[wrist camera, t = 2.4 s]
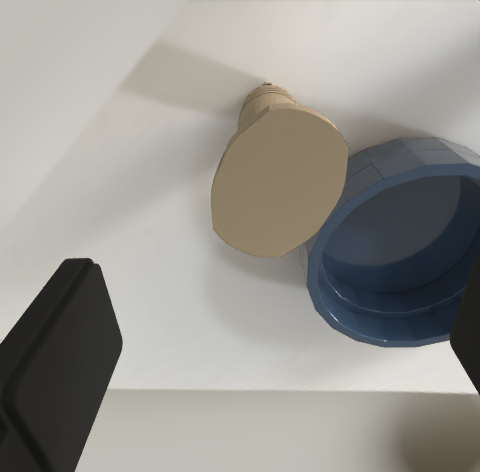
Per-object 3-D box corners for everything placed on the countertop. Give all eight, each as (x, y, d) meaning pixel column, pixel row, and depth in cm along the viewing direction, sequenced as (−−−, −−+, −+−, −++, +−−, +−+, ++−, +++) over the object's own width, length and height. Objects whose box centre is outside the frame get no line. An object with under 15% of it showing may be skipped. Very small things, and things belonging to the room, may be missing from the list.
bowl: (303, 139, 29) (313, 168, 23) (527, 130, 28) (588, 159, 22) (296, 301, 37) (303, 348, 32) (466, 299, 36) (500, 347, 31)
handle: (318, 76, 26) (375, 144, 13) (277, 156, 29) (292, 271, 17) (256, 45, 25) (255, 86, 13) (221, 131, 28) (191, 232, 16)
